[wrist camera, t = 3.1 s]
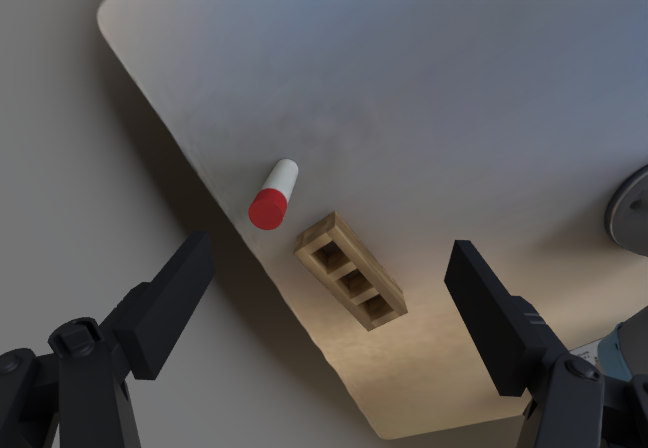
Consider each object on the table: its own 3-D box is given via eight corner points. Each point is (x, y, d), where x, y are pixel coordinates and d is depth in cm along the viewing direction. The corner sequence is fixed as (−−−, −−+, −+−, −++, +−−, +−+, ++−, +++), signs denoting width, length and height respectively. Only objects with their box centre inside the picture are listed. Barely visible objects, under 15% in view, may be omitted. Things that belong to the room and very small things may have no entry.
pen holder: (335, 210, 45) (335, 226, 41) (402, 291, 52) (408, 312, 48) (297, 235, 48) (293, 253, 43) (365, 309, 55) (368, 331, 50)
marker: (287, 153, 41) (266, 192, 29) (303, 172, 42) (289, 218, 30) (269, 168, 42) (241, 211, 30) (285, 186, 44) (264, 235, 31)
